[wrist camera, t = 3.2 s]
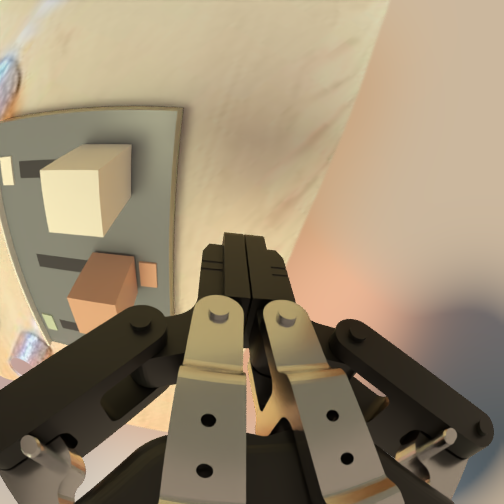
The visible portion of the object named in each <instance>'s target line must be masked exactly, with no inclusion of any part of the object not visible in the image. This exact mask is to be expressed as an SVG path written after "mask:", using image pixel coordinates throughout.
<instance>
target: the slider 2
mask: <svg viewBox="0 0 504 504" xmlns="http://www.w3.org/2000/svg"><path fill="white" fill-rule="evenodd" d="M137 293H138V288H137V279H136V270H135V259H134V257H133V256H123V255H114V254H105V253H95V252H92V254H91V256H90V257H89V259H88V261H87V262H86V264H85V266H84V268H83V269H82V271H81V273H80V275H79V276H78V278H77V280H76V282H75V283H74V285H73V287H72V289H71V291H70V293H69V295H68V297H67V299H68V302H69V305H70V308H71V311H72V313H73V316H74V319H75V321H76V324H77V327H78V329H79V332H80V333H84V334H87V333H88V332H90V331H91V330H93V329H95V328H96V327H98V326H99V325H101V324H102V323H104V322H106V321H107V320H109V319H110V318H112V317H114V316H115V315H117V314H118V313H120V312H122V311H123V310H125V309H127V308H129V307H131V306H134V303H135V300H136V296H137Z"/></svg>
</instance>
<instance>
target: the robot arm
mask: <svg viewBox="0 0 504 504" xmlns="http://www.w3.org/2000/svg"><path fill="white" fill-rule="evenodd" d="M243 348H249V352H250V358H249V362H248V365H247V368H248V374H249V379H250V385H251V391H252V396H253V402H254V407H255V412H256V425H255V433H256V435H255V434H249V433H246V374H245V373H244V372H243ZM356 373H358V374H359V375H360V376H362V377H363V378H364V379H366V380H367V381H368V382H369V383H371V384H372V385H373V386H375V387H376V388H378V390H380V391H381V392H383V393H384V394H385V395H386V397H381V396H378V395H376V394H375V393H374V392H372V391H371V390H370V389H368V388H367V387H366V386H365V385H363V384H362V383H361V382H360V381H358V380H357V379H356V378H355V377H353V376H354V375H355V374H356ZM173 384H176V388H175V394H174V399H173V405H172V411H171V417H170V424H169V430H168V435H165V436H162V437H159V438H156V439H154V440H151V441H149V442H147V443H145V444H144V445H143V446H141V447H139V448H138V449H137V450H135V451H134V452H133V453H132V454H131V455H130V456H129V457H127V459H125V460H124V461H123V462H122V463H121V464H120V465H119V466H118V467H116V468H115V469H114V470H113V471H112V472H111V473H110V474H108V475H107V476H106V477H105V478H104V479H103V480H102V481H100V482H99V483H98V484H97V485H96V486H94V488H92V489H91V490H90V491H89V492H87V493H86V494H85V495H84V496H83V497H81V498H80V499H79V500H77V501H76V502H75V501H74V497H75V492H76V490H77V488H78V487H79V486H80V485H81V484H82V483H83V481H84V479H85V475H86V468H85V464H84V461H83V459H82V457H84V456H85V455H86V454H88V453H89V452H90V451H91V450H93V449H94V448H95V447H97V446H98V445H99V444H101V443H102V442H103V441H104V440H106V439H107V438H108V437H109V436H111V435H112V434H113V433H114V432H116V431H117V430H118V429H119V428H121V427H122V426H123V425H124V424H126V423H127V422H128V421H129V420H131V419H132V418H133V417H134V416H135V415H137V414H138V413H139V412H140V411H141V410H143V409H144V408H145V407H146V406H147V405H149V404H150V403H151V402H152V401H153V400H155V399H156V398H157V397H158V396H159V395H160V394H162V393H163V392H164V391H165V390H166V389H167V388H168V387H169V385H173ZM493 435H494V429H493V424H492V422H491V420H490V418H489V417H488V415H487V414H485V413H484V412H483V411H482V410H480V409H479V408H478V407H476V406H475V405H474V404H472V403H471V402H470V401H468V400H467V399H466V398H464V397H463V396H462V395H460V394H459V393H458V392H456V391H455V390H454V389H452V388H451V387H450V386H448V385H447V384H446V383H444V382H443V381H442V380H440V379H439V378H438V377H436V376H435V375H434V374H432V373H431V372H430V371H428V370H427V369H426V368H424V367H423V366H422V365H420V364H419V363H418V362H416V361H415V360H413V359H412V358H411V357H409V356H408V355H407V354H405V353H404V352H403V351H401V350H400V349H399V348H397V347H396V346H395V345H393V344H392V343H390V342H389V341H388V340H386V339H385V338H384V337H382V336H381V335H380V334H378V333H377V332H375V331H374V330H373V329H371V328H370V327H368V326H367V325H366V324H364V323H362V322H361V321H358V320H354V319H346V320H342V321H340V322H339V323H338V324H337V326H336V328H332V327H329V326H325V325H321V324H318V323H315V322H313V321H311V320H310V318H309V316H308V314H307V312H306V311H305V310H304V309H303V308H302V307H301V306H300V305H298V304H296V302H295V298H294V295H293V291H292V288H291V284H290V281H289V278H288V274H287V271H286V267H285V264H284V260H283V258H282V257H281V256H280V255H279V254H278V253H277V252H276V251H274V250H267V249H266V244H265V240H264V237H263V236H254V235H243V234H236V233H226V232H224V237H223V243H222V245H216V244H209V245H208V246H207V247H206V248H205V249H204V250H203V255H202V263H201V272H200V282H199V291H198V299H197V302H196V304H195V305H194V307H193V308H192V309H190V310H189V311H187V312H185V313H182V314H179V315H174V316H167V317H165V316H164V314H163V313H162V312H161V311H160V310H158V309H157V308H154V307H152V306H148V305H135V306H131V307H129V308H127V309H125V310H123V311H122V312H120V313H118V314H117V315H115V316H114V317H112V318H110V319H109V320H107V321H106V322H104V323H102V324H101V325H99V326H98V327H96V328H95V329H93V330H91V331H90V332H88V333H87V334H85V335H84V336H82V337H80V338H79V339H77V340H76V341H74V342H73V343H71V344H69V345H68V346H66V347H65V348H63V349H62V350H60V351H59V352H57V353H56V354H54V355H52V356H51V357H49V358H48V359H46V360H45V361H43V362H42V363H40V364H39V365H37V366H36V367H34V368H33V369H31V370H29V371H28V372H27V373H25V374H23V375H22V376H20V377H19V378H17V379H16V380H14V381H13V382H11V383H10V384H8V385H7V386H5V387H4V388H3V389H1V390H0V475H1V477H2V479H3V481H4V482H5V484H6V486H7V487H8V489H9V490H10V492H11V493H12V495H13V496H14V498H15V499H16V501H17V502H18V504H454V502H453V501H452V500H451V499H452V496H453V494H454V492H455V490H456V488H457V485H458V483H459V481H460V479H461V476H462V474H463V471H464V469H465V466H466V463H467V461H468V459H469V457H471V456H472V455H474V454H476V453H477V452H479V451H480V450H482V449H484V448H485V447H486V446H488V445H489V444H490V443H491V441H492V439H493ZM386 452H387V453H388V454H387V453H386ZM390 455H391V456H392V457H391V456H390ZM393 457H394V458H395V459H394V458H393Z"/></svg>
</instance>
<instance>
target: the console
mask: <svg viewBox="0 0 504 504" xmlns="http://www.w3.org/2000/svg"><path fill="white" fill-rule="evenodd" d="M183 109H184V108H178V107H154V106H115V107H92V108H78V109H67V110H58V111H50V112H43V113H36V114H30V115H24V116H18V117H13V118H9V119H6V120H3V121H1V122H0V226H1V230H2V234H3V237H4V241H5V244H6V248H7V251H8V254H9V257H10V260H11V263H12V266H13V269H14V271H15V274H16V277H17V280H18V282H19V285H20V287H21V290H22V292H23V295H24V297H25V299H26V302H27V304H28V306H29V308H30V311H31V313H32V315H33V317H34V319H35V321H36V323H37V325H38V327H39V329H40V331H41V333H42V335H43V337H44V339H45V341H46V343H47V344H48V346H50V345H51V342H52V341H54V342H58V343H62V344H66V345H69V344H71V343H73V342H74V341H76V340H77V339H79V338H80V337H82V336H84V335H85V334H84V333H80V332H79V329H78V327H77V324H76V321H75V319H74V316H73V313H72V311H71V308H70V305H69V302H68V299H67V297H68V295H69V293H70V291H71V289H72V287H73V285H74V283H75V282H76V280H77V278H78V276H79V275H80V273H81V271H82V269H83V268H84V266H85V264H86V262H87V261H88V259H89V257H90V256H91V254H92V252H95V253H105V254H114V255H123V256H133V257H134V259H135V270H136V279H137V288H138V293H137V296H136V300H135V303H134V306H135V305H148V306H152V307H154V308H157V309H158V310H160V311H161V312H162V313H163V314H164V316H165V317H167V316H174V288H173V257H174V218H175V197H176V181H177V167H178V155H179V145H180V135H181V125H182V117H183ZM82 144H132V149H131V198H130V199H129V200H128V202H127V203H126V205H125V206H124V207H123V209H122V210H121V212H120V213H119V215H118V216H117V218H116V219H115V221H114V222H113V224H112V225H111V227H110V228H109V230H108V231H107V233H106V234H105V236H104V237H95V236H84V235H73V234H63V233H52V232H49V229H48V224H47V218H46V213H45V207H44V201H43V194H42V186H41V178H40V170H41V169H43V168H44V167H46V166H47V165H49V164H50V163H52V162H53V161H55V160H57V159H58V158H60V157H62V156H63V155H65V154H67V153H68V152H70V151H72V150H74V149H75V148H77V147H79V146H81V145H82Z"/></svg>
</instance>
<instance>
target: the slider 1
mask: <svg viewBox="0 0 504 504" xmlns="http://www.w3.org/2000/svg"><path fill="white" fill-rule="evenodd" d="M131 149H132V144H82V145H81V146H79V147H77V148H75V149H74V150H72V151H70V152H68V153H67V154H65V155H63V156H62V157H60V158H58V159H57V160H55V161H53V162H52V163H50V164H49V165H47V166H46V167H44V168H43V169H41V170H40V178H41V186H42V194H43V201H44V207H45V213H46V218H47V224H48V229H49V232H52V233H63V234H73V235H84V236H95V237H104V236H105V234H106V233H107V231H108V230H109V228H110V227H111V225H112V224H113V222H114V221H115V219H116V218H117V216H118V215H119V213H120V212H121V210H122V209H123V207H124V206H125V205H126V203H127V202H128V200H129V199H130V198H131Z"/></svg>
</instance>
